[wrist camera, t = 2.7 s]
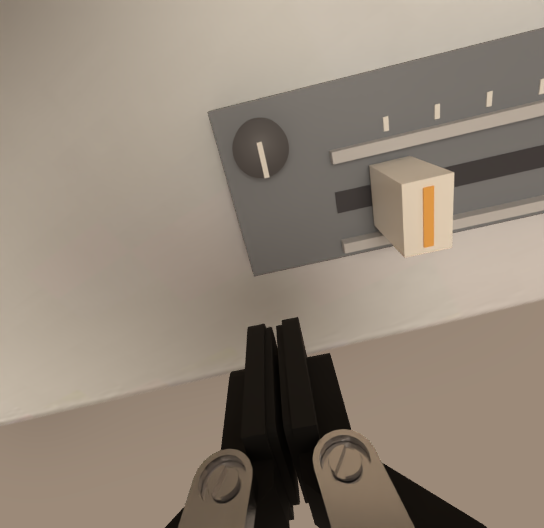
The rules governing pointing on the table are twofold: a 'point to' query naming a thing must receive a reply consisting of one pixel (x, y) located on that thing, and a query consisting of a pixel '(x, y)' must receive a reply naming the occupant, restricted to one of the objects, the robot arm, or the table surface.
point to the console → (385, 149)
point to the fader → (413, 204)
